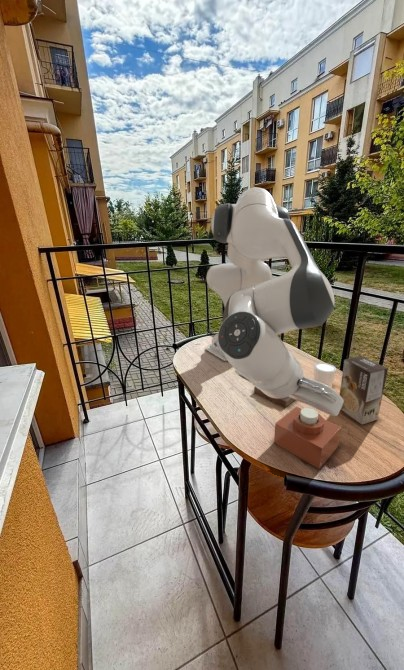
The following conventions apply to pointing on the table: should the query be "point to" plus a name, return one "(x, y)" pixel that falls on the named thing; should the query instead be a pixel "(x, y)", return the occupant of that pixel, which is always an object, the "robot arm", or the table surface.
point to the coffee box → (362, 388)
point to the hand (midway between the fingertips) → (299, 396)
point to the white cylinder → (324, 373)
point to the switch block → (280, 401)
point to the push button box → (307, 437)
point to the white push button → (308, 416)
